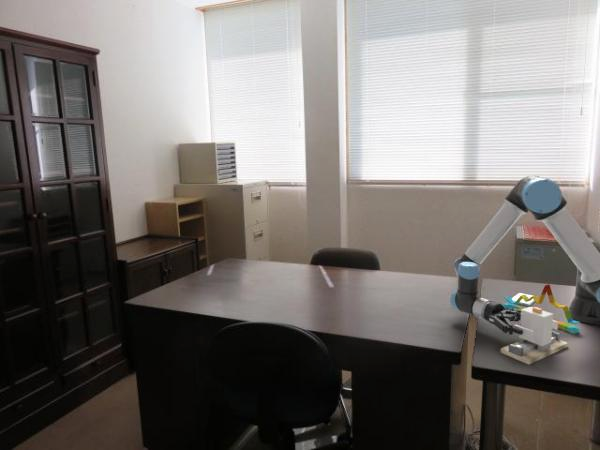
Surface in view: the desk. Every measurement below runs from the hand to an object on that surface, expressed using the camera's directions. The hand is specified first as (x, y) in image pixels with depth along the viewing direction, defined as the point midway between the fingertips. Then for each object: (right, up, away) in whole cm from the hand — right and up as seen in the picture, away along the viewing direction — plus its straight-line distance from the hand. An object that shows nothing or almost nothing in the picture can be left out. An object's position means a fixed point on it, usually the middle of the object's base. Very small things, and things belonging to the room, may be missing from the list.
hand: (545, 330), depth 149 cm
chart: (+13, -3, +30) cm, 32 cm away
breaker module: (-2, -6, +4) cm, 7 cm away
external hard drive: (+17, +1, +50) cm, 53 cm away
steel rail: (-2, -6, +4) cm, 7 cm away
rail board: (-2, -8, +4) cm, 9 cm away
